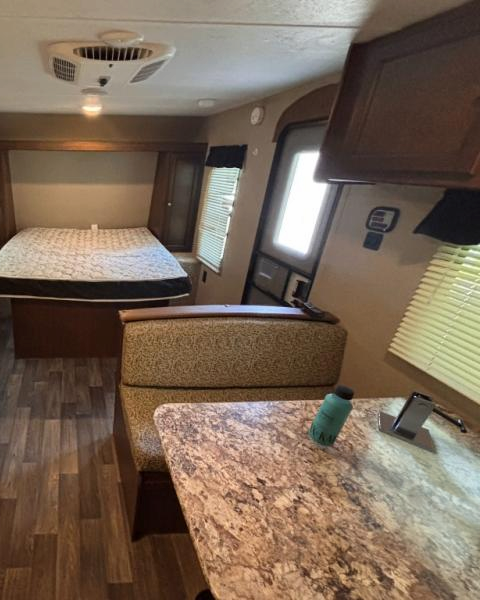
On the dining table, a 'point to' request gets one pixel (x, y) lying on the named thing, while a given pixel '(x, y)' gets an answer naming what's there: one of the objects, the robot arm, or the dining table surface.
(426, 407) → the bracket
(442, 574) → the dining table surface
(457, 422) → the lever
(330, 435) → the beverage bottle
